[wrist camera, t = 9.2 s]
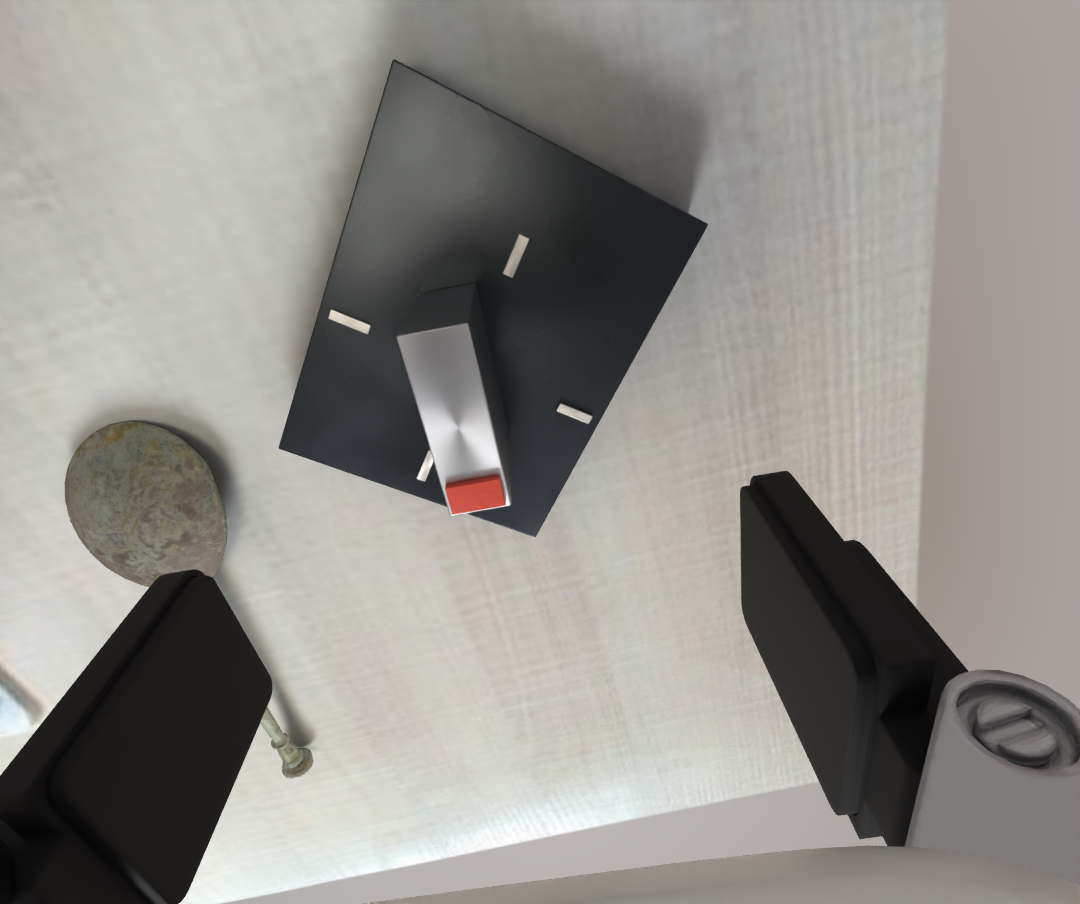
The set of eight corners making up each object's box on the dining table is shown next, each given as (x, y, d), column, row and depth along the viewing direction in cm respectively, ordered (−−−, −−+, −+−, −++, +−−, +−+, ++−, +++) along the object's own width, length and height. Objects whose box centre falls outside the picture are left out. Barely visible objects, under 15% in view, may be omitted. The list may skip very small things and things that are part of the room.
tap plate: (405, 67, 19) (392, 57, 17) (688, 215, 22) (710, 225, 20) (297, 421, 25) (276, 450, 23) (533, 506, 28) (535, 540, 25)
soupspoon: (210, 403, 25) (65, 423, 26) (165, 436, 22) (2, 459, 23) (355, 748, 35) (248, 758, 35) (338, 803, 32) (221, 814, 32)
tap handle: (419, 293, 20) (394, 339, 16) (475, 282, 20) (467, 325, 16) (460, 444, 23) (449, 521, 19) (510, 435, 23) (511, 510, 19)
